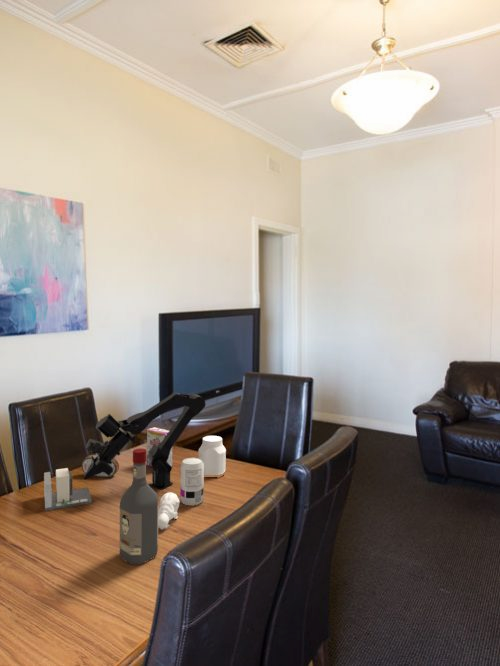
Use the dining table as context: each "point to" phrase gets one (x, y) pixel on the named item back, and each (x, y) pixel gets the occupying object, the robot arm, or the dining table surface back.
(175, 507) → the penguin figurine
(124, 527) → the liquor
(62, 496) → the block
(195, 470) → the supplement can
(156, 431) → the candy bar box
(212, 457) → the jar
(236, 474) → the dining table surface
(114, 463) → the tin
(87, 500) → the base
